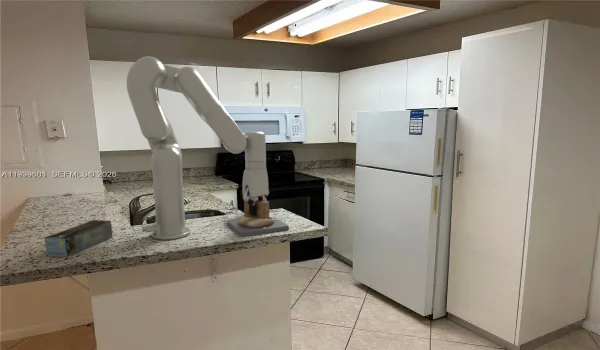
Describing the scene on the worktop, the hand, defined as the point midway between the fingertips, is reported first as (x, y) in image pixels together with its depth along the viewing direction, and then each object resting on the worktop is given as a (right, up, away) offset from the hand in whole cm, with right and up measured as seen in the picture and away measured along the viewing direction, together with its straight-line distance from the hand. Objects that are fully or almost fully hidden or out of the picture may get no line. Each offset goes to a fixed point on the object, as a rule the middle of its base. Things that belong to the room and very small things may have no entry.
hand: (256, 213), depth 134 cm
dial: (0, -3, +1) cm, 3 cm away
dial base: (0, -5, +1) cm, 5 cm away
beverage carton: (-54, -9, -19) cm, 58 cm away
